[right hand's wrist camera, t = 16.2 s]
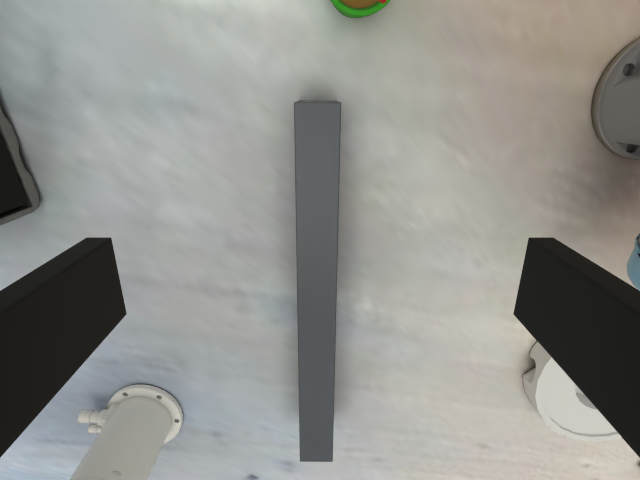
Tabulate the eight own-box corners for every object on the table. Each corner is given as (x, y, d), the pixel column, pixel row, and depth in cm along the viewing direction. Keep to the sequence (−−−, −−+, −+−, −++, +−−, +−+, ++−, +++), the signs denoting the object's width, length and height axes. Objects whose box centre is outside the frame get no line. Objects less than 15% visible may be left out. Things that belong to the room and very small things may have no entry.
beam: (298, 100, 49) (294, 101, 41) (337, 100, 49) (341, 102, 41) (302, 416, 67) (300, 461, 59) (330, 416, 67) (332, 461, 59)
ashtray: (495, 362, 63) (506, 379, 59) (629, 276, 57) (651, 288, 54) (566, 443, 69) (580, 463, 65) (694, 372, 63) (717, 390, 60)
